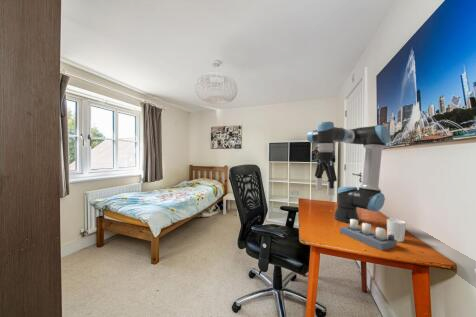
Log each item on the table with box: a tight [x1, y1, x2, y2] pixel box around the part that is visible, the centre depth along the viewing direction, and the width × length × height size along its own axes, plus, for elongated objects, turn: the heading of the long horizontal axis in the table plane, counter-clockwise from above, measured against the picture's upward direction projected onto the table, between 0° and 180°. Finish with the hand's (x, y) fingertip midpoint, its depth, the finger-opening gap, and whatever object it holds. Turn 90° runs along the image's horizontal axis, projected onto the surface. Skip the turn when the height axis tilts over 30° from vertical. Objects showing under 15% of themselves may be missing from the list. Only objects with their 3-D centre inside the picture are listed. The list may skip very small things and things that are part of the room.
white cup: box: [386, 218, 407, 243], centre depth 102 cm, size 8×8×10 cm
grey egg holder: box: [339, 225, 398, 251], centre depth 102 cm, size 12×22×6 cm, turn 23°
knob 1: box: [349, 219, 359, 230], centre depth 108 cm, size 4×4×5 cm
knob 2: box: [375, 226, 387, 241], centre depth 95 cm, size 4×4×5 cm
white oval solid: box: [361, 222, 372, 235], centre depth 102 cm, size 4×4×5 cm
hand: (324, 192), depth 100 cm, fingers open, 13 cm apart
